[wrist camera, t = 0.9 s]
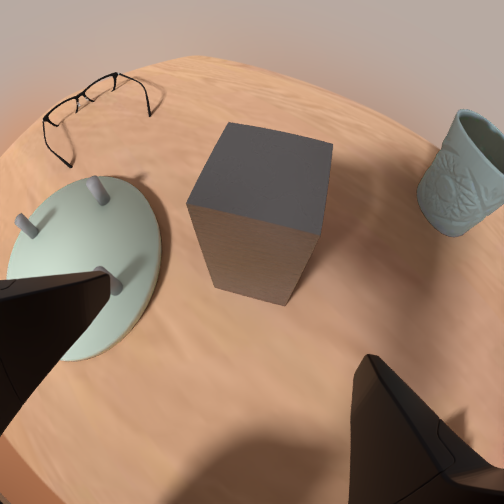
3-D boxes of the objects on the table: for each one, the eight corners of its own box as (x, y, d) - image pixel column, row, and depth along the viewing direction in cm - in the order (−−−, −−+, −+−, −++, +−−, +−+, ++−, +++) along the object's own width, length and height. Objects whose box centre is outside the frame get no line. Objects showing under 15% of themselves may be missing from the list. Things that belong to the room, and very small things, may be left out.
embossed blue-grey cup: (468, 197, 28) (515, 142, 17) (471, 258, 24) (537, 204, 13) (411, 164, 30) (451, 95, 19) (406, 222, 26) (466, 146, 15)
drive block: (284, 306, 22) (320, 235, 11) (214, 287, 23) (186, 203, 12) (299, 241, 25) (333, 142, 14) (235, 225, 25) (229, 120, 14)
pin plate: (188, 328, 21) (174, 317, 17) (20, 375, 18) (-8, 370, 14) (144, 160, 29) (134, 132, 25) (16, 220, 26) (-2, 202, 22)
